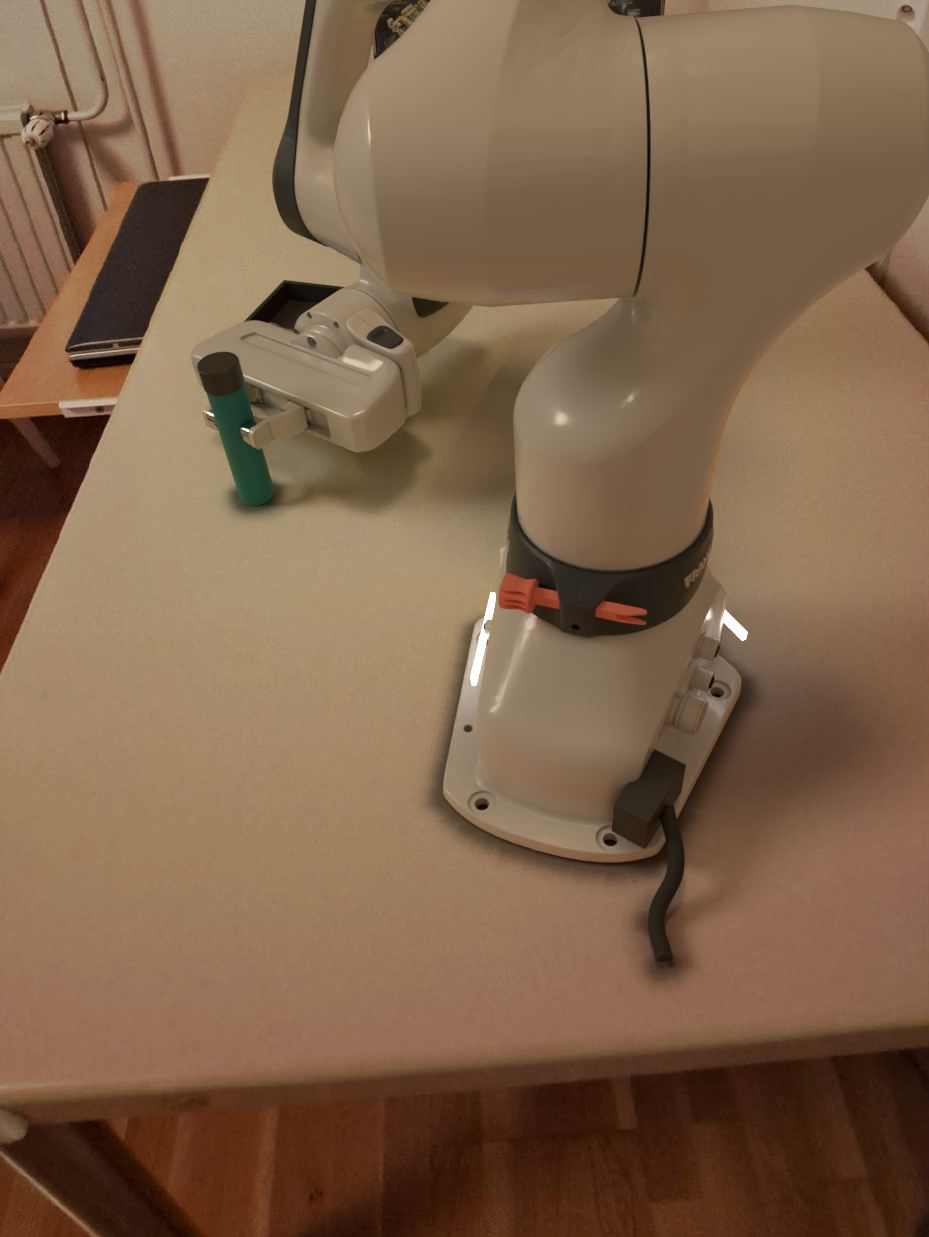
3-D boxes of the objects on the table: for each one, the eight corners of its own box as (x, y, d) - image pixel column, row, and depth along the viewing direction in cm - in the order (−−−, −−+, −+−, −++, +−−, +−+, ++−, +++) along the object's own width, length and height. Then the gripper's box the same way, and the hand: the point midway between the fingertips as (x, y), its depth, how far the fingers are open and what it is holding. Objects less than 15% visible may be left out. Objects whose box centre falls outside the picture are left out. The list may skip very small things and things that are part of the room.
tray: (322, 396, 91) (317, 373, 89) (215, 380, 94) (208, 357, 92) (387, 313, 101) (384, 291, 99) (288, 301, 104) (283, 279, 102)
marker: (264, 509, 79) (225, 376, 70) (232, 503, 80) (188, 370, 71) (282, 486, 81) (246, 353, 72) (250, 480, 82) (210, 348, 73)
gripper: (252, 288, 85) (133, 360, 78) (429, 349, 75) (312, 437, 68) (268, 350, 89) (156, 424, 82) (436, 415, 80) (327, 504, 73)
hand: (228, 431), depth 75 cm, fingers closed on marker, 3 cm apart
